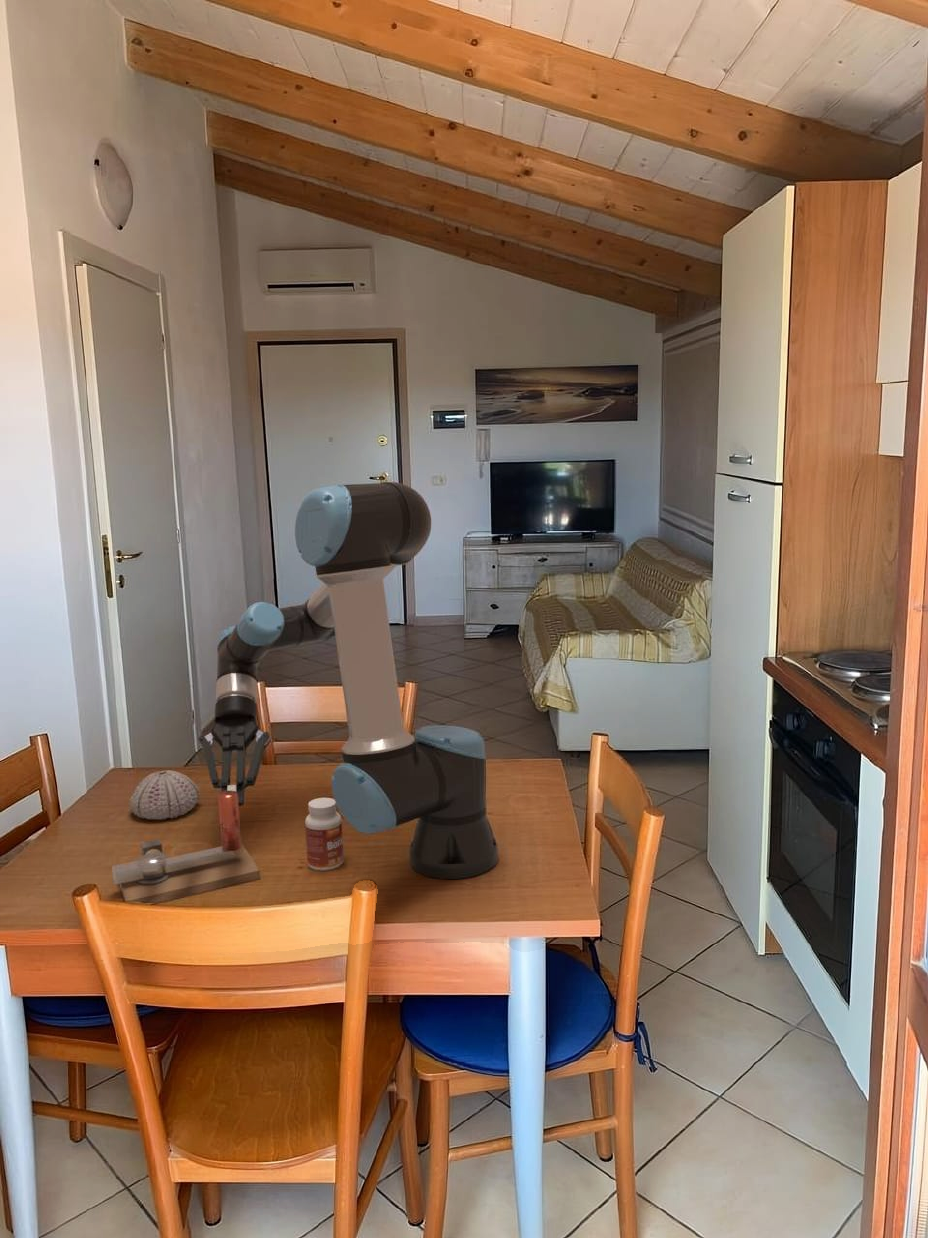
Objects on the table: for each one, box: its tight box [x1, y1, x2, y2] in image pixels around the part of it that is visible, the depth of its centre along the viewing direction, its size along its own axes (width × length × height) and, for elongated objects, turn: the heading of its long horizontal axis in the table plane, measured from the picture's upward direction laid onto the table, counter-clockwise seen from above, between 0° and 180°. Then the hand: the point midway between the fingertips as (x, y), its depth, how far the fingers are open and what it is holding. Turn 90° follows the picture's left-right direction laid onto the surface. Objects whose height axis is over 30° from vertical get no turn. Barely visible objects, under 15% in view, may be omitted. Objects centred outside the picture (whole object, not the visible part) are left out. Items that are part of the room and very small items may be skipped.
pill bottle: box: [304, 797, 345, 871], centre depth 159 cm, size 6×6×11 cm
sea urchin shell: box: [128, 769, 201, 821], centre depth 185 cm, size 13×14×8 cm
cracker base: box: [119, 838, 261, 904], centre depth 157 cm, size 21×14×4 cm
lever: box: [111, 791, 242, 886], centre depth 154 cm, size 21×4×11 cm, turn 117°
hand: (231, 823), depth 162 cm, fingers closed
